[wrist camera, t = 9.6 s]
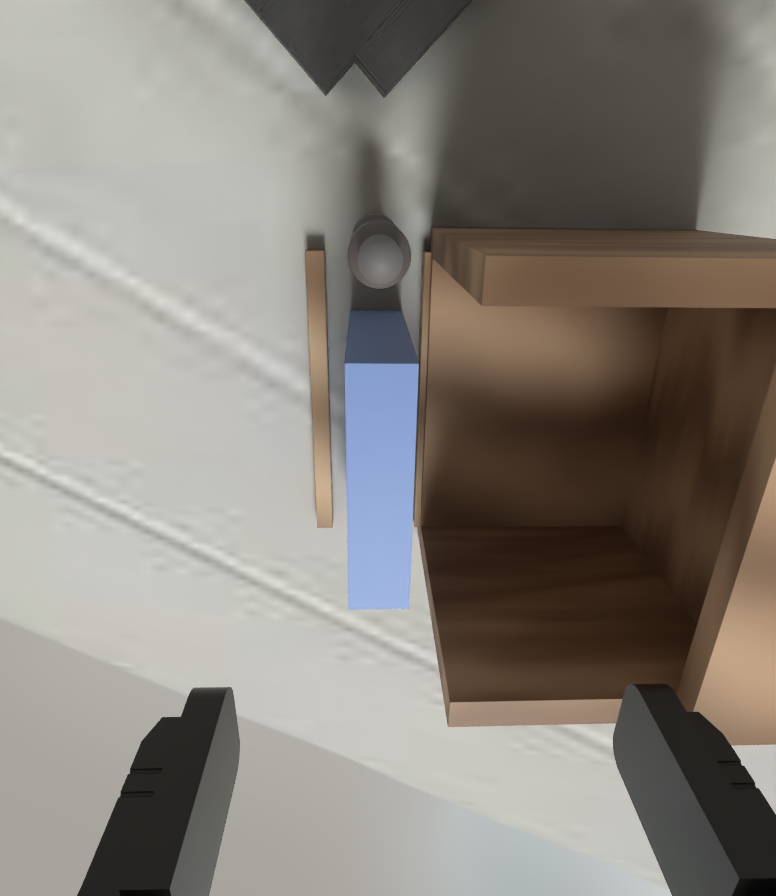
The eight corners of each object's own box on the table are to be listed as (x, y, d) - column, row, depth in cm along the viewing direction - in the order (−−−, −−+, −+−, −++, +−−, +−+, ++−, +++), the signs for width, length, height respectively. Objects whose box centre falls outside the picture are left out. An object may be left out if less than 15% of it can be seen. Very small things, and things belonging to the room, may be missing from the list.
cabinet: (305, 210, 25) (245, 228, 12) (699, 215, 25) (1016, 237, 13) (319, 535, 31) (289, 755, 19) (629, 532, 32) (794, 744, 20)
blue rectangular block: (350, 310, 26) (344, 363, 18) (401, 310, 27) (418, 363, 18) (352, 497, 31) (348, 609, 22) (396, 497, 31) (409, 608, 23)
